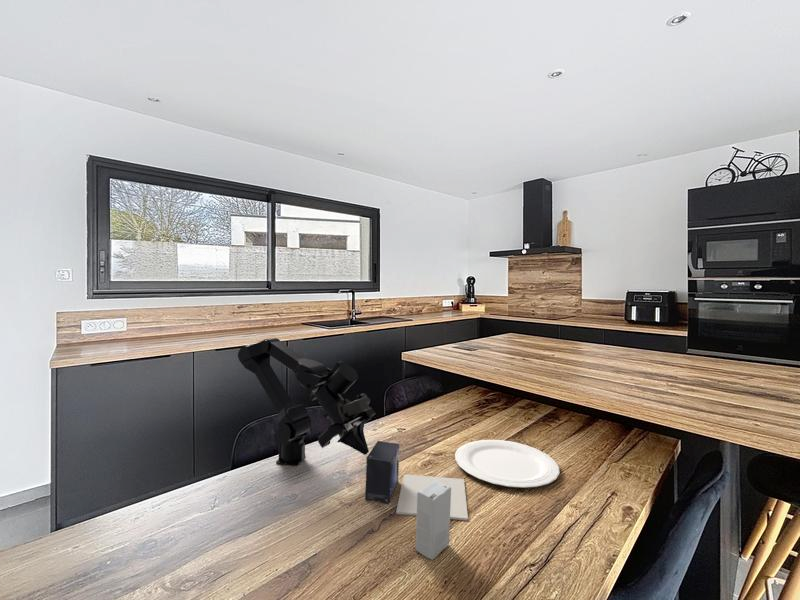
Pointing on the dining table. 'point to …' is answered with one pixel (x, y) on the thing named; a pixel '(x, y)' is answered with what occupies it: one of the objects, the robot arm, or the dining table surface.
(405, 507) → the mat
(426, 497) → the skincare box
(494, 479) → the plate
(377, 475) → the small box
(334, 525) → the dining table surface
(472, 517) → the dining table surface
